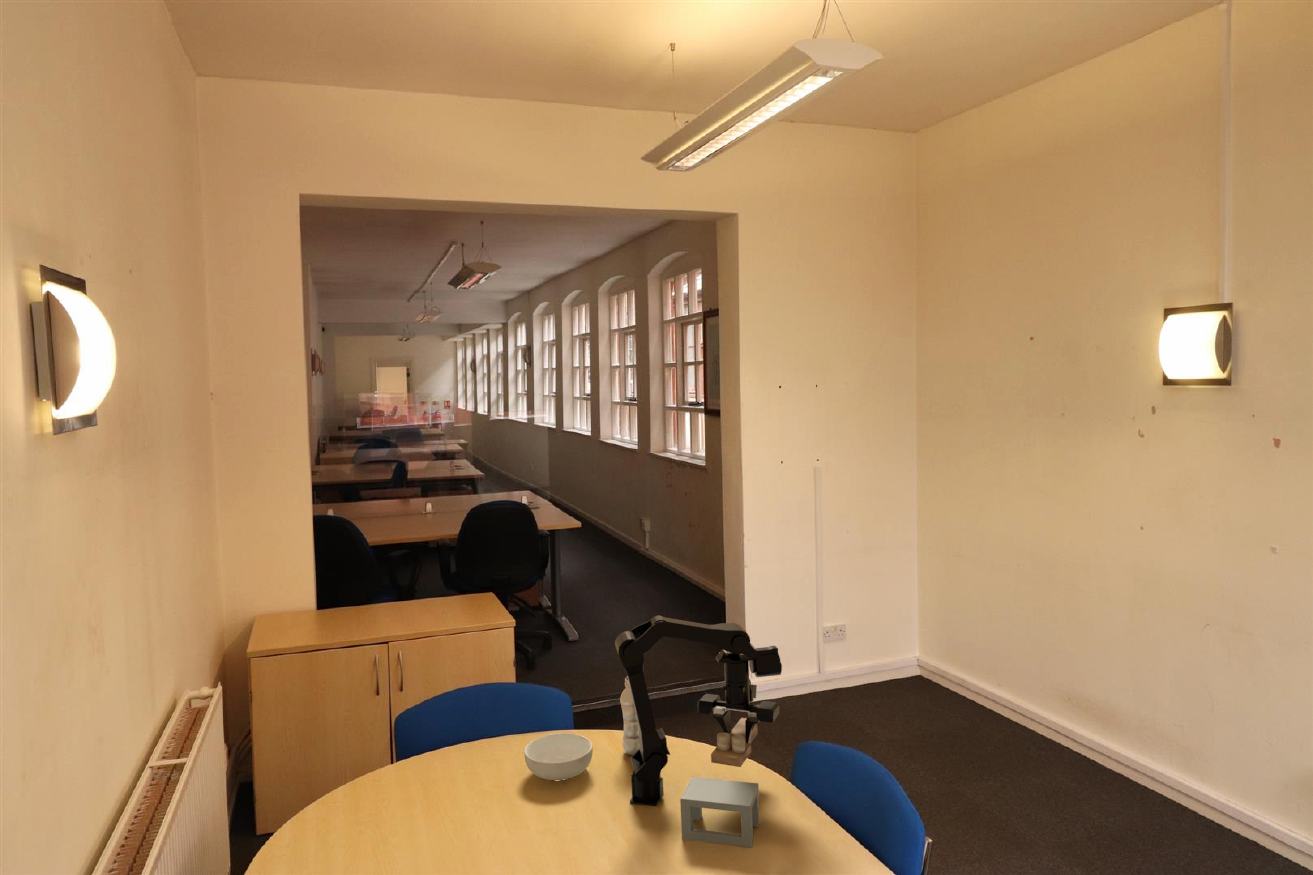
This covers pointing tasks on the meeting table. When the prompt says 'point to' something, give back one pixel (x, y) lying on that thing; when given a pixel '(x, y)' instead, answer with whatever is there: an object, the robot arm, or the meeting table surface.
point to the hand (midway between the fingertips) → (738, 742)
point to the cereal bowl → (558, 755)
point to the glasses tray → (729, 753)
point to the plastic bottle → (629, 721)
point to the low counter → (720, 798)
